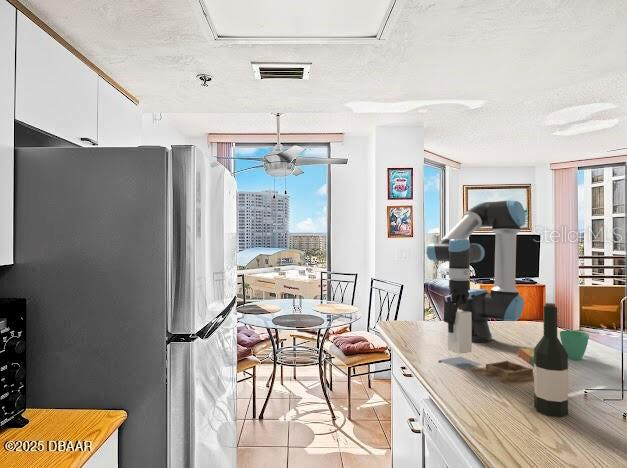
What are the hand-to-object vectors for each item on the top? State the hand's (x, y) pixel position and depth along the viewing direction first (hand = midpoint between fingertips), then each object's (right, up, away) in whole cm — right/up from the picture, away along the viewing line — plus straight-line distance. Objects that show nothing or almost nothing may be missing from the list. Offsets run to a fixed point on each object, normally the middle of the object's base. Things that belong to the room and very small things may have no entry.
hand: (459, 340), depth 156 cm
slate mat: (0, -9, 0) cm, 9 cm away
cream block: (0, -4, 0) cm, 4 cm away
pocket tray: (+13, -9, -13) cm, 20 cm away
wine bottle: (+11, -9, -41) cm, 44 cm away
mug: (+49, -9, +9) cm, 50 cm away
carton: (+30, -10, 0) cm, 31 cm away
